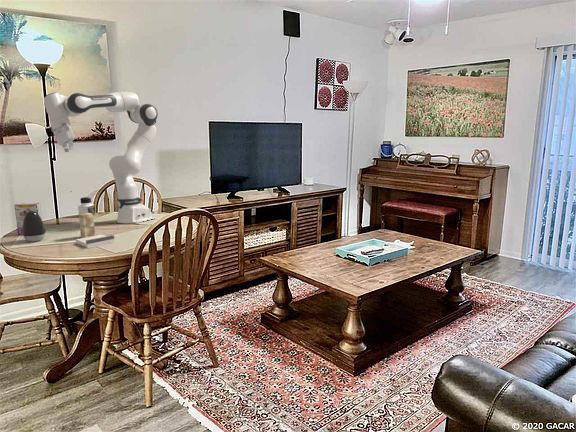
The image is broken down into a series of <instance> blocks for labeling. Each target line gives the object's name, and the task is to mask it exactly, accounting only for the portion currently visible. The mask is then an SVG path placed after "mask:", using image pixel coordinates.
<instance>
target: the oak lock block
mask: <svg viewBox="0 0 576 432" xmlns="http://www.w3.org/2000/svg"><path fill="white" fill-rule="evenodd" d="M78 217H79V218H78V219H79V227H80V237H81V238H86V237H91V236H96V230H95V223H94V222H95V221H94V216H93V214H91V213H84V214H79V213H78Z"/></svg>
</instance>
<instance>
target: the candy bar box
mask: <svg viewBox="0 0 576 432" xmlns="http://www.w3.org/2000/svg"><path fill="white" fill-rule="evenodd" d="M41 207H42V206H41V203H40V202H18V203H17V202H16V203H15V204H14V212H15V220H16V228H17V234H18V235H22V225H23V220H24V217H25V214H24V212H29V211H35V212H37V213H38V214H39V216H40V217H41V219H42V220H43V217H42V216H43V215H42V208H41Z"/></svg>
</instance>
